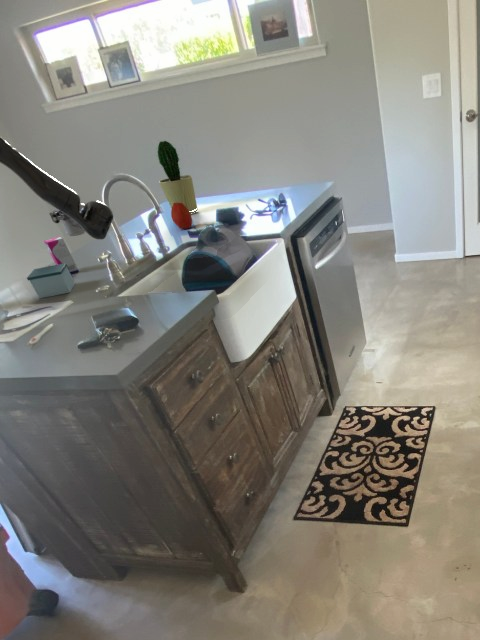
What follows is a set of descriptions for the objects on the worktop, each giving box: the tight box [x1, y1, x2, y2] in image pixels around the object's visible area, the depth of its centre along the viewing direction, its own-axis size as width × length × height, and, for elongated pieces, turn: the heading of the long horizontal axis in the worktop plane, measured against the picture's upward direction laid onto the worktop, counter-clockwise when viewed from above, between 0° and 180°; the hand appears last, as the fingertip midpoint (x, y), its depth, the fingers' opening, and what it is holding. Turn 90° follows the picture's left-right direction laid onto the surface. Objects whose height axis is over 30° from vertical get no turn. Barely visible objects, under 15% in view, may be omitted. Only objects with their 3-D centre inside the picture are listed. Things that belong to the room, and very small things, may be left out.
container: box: [26, 263, 76, 299], centre depth 176 cm, size 11×11×7 cm
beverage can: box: [54, 207, 86, 237], centre depth 180 cm, size 6×6×12 cm
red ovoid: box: [170, 201, 193, 230], centre depth 225 cm, size 8×8×11 cm
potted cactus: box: [155, 139, 199, 214], centre depth 244 cm, size 15×15×30 cm
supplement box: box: [43, 236, 80, 275], centre depth 191 cm, size 6×6×12 cm
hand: (65, 211), depth 181 cm, fingers closed on beverage can, 6 cm apart
